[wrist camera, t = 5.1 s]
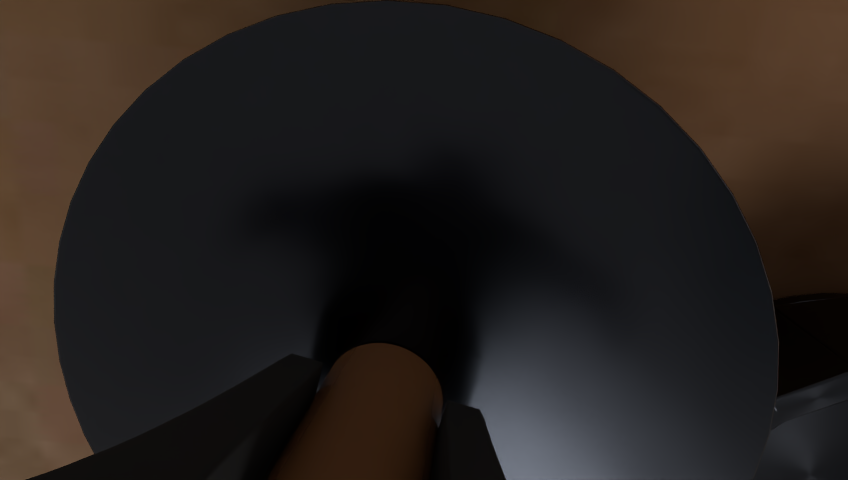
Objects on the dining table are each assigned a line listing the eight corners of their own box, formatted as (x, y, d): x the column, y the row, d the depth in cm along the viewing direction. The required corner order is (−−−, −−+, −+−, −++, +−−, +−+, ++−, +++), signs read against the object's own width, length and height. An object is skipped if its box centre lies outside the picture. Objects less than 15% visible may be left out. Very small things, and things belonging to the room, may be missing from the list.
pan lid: (534, 693, 13) (559, 1041, 8) (44, 462, 13) (-217, 676, 8) (923, 221, 9) (1463, 376, 4) (183, -129, 9) (-206, -414, 4)
